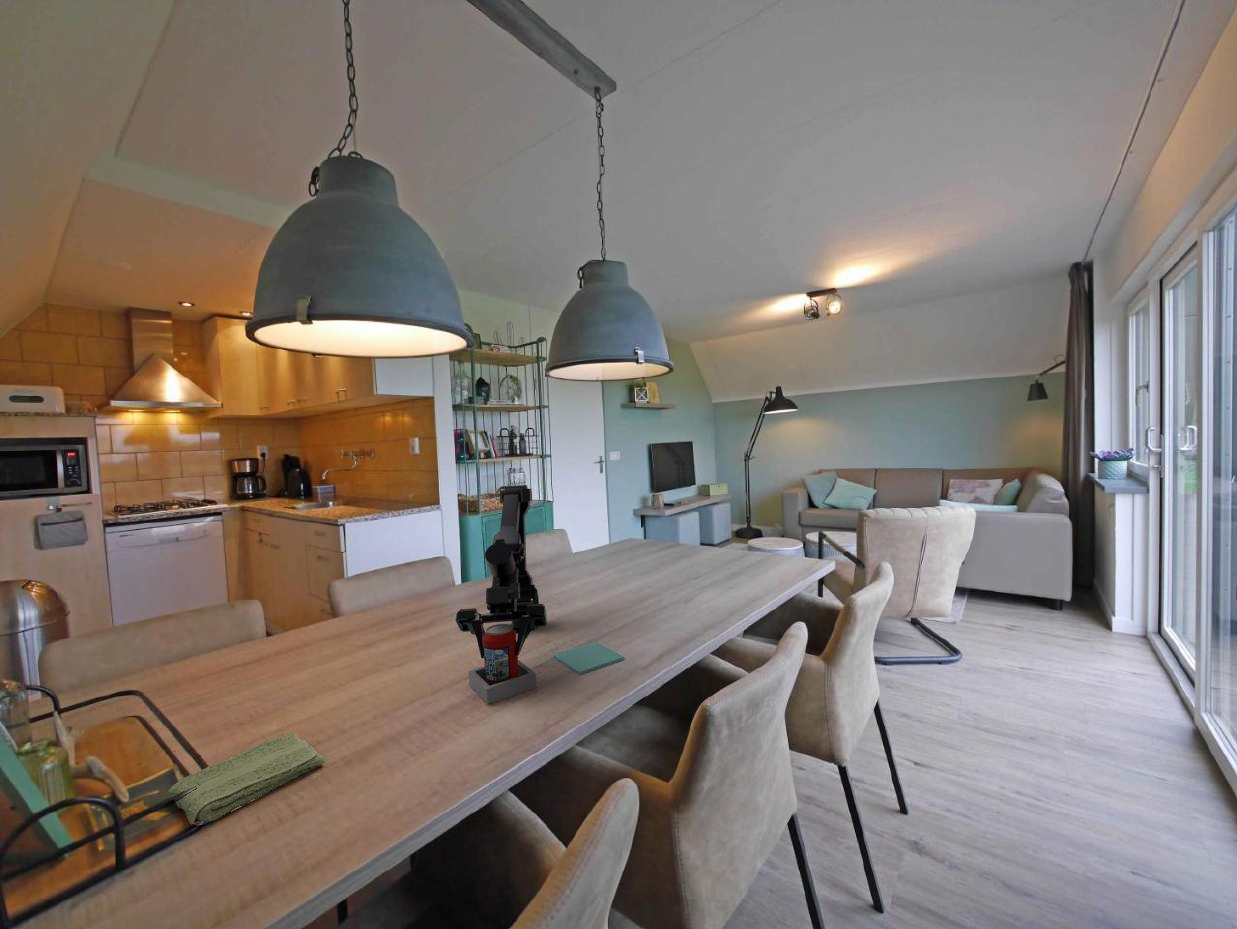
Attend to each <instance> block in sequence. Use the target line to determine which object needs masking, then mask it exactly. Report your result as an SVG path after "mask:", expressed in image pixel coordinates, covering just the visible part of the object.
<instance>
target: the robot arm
mask: <svg viewBox="0 0 1237 929" xmlns="http://www.w3.org/2000/svg"><path fill="white" fill-rule="evenodd" d="M498 492H499V503H500V504H502V509H501V518H500V528H499V531H498V532H497V533H495V535H494V536H493V540H492V544H491V545H489V546H488V547H487V549H486V550H485V553H484V557H485V558H484V559H485V561H486V563H487V566H488V571H489V572H490V575H491V576H492V579H491V580H492V581H491V587H487V588H486V589H485V604H486V609H487V611H489V613H488V612H487V613H479V612H478V610H477V608H474V607H473V608H461V609H459V610H458V611H457V612H456V614H455V623H456V624H457V626H458V628H459V631H460V632H463V633H468V632H469V633H470V634H471V635H475V637H476V641H477V644H478V645H477V646H478V649H479V654H480V657H481V659H484V646H483V637H484V635H485V633H486V629H485V628H484V624H489V623H491V624H492V623H503V622H504V623H505V622H506V623H507V622H511V624H510V625H511V626H512V628H513V630H514V631H515V633H516V634H517V636H516V641H517V643H516V656H517V657H518V656H519V655H520V653H521V650H522V648H523V646H524V645H525V642H526V640H527V638H528V637H529V635H530V633H531V632H532V631H535V630H536V629H537V628H538V627H545V626H547V625H548V622H547V621H548V618H547V617H548V616H547V611H546V610H547V609H546V606H545V605H544V604H543V603H540V597H539V593H538V589H537V587H536V585H535V584H534V579H533V577H532V575H531V573H530V572H529V571H528V569H527V566H528V565H527V543H526V542H527V541H526V539H527V538H526V516H527V514H528V512H529V511H530V508H531V502H532V501H533V491H532V488H529V487H528V485H527V484H521V485H519V484H518V485H505V486H504V488H503V489H500V490H499V491H498Z"/></svg>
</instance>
